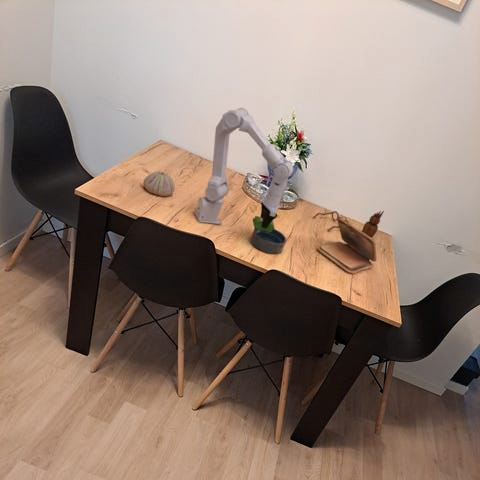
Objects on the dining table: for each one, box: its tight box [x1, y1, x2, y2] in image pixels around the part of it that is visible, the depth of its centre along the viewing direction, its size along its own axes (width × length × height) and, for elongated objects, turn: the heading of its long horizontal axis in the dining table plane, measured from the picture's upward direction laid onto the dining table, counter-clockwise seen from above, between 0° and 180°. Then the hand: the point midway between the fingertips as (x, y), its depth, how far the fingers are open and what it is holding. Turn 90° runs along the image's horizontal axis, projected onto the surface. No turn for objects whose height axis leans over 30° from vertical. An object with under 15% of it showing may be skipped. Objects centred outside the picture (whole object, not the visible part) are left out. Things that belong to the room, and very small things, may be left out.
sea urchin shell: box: [143, 170, 176, 197], centre depth 196 cm, size 13×14×8 cm
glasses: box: [312, 210, 350, 232], centre depth 229 cm, size 13×13×5 cm
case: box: [317, 217, 378, 275], centre depth 200 cm, size 20×21×16 cm
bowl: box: [250, 227, 287, 254], centre depth 189 cm, size 14×14×5 cm
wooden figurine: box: [361, 210, 385, 239], centre depth 229 cm, size 7×6×15 cm
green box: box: [252, 215, 275, 232], centre depth 185 cm, size 8×5×3 cm, turn 96°
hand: (263, 224), depth 185 cm, fingers closed on green box, 4 cm apart
